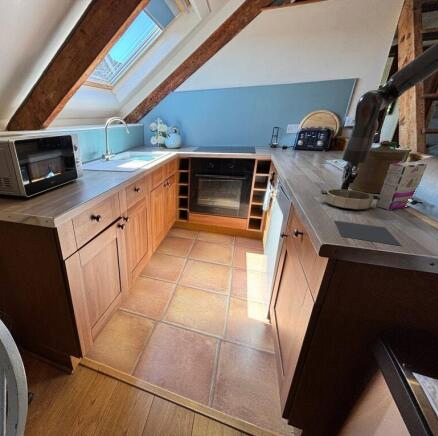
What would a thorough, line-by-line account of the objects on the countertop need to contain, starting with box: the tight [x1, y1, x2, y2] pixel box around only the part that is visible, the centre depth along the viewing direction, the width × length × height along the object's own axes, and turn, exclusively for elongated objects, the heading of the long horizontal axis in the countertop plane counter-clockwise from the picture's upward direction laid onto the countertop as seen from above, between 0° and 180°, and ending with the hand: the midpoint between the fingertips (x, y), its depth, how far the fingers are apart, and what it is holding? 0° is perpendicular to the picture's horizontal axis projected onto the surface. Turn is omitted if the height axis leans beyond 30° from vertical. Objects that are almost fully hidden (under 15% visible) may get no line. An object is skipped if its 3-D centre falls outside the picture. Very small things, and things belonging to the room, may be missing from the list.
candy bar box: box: [375, 161, 428, 211], centre depth 89 cm, size 11×5×16 cm, turn 105°
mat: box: [334, 220, 402, 247], centre depth 73 cm, size 13×13×1 cm
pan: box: [320, 188, 380, 211], centre depth 94 cm, size 18×14×5 cm
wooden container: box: [349, 140, 407, 195], centre depth 110 cm, size 15×15×22 cm
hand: (343, 191), depth 101 cm, fingers closed
